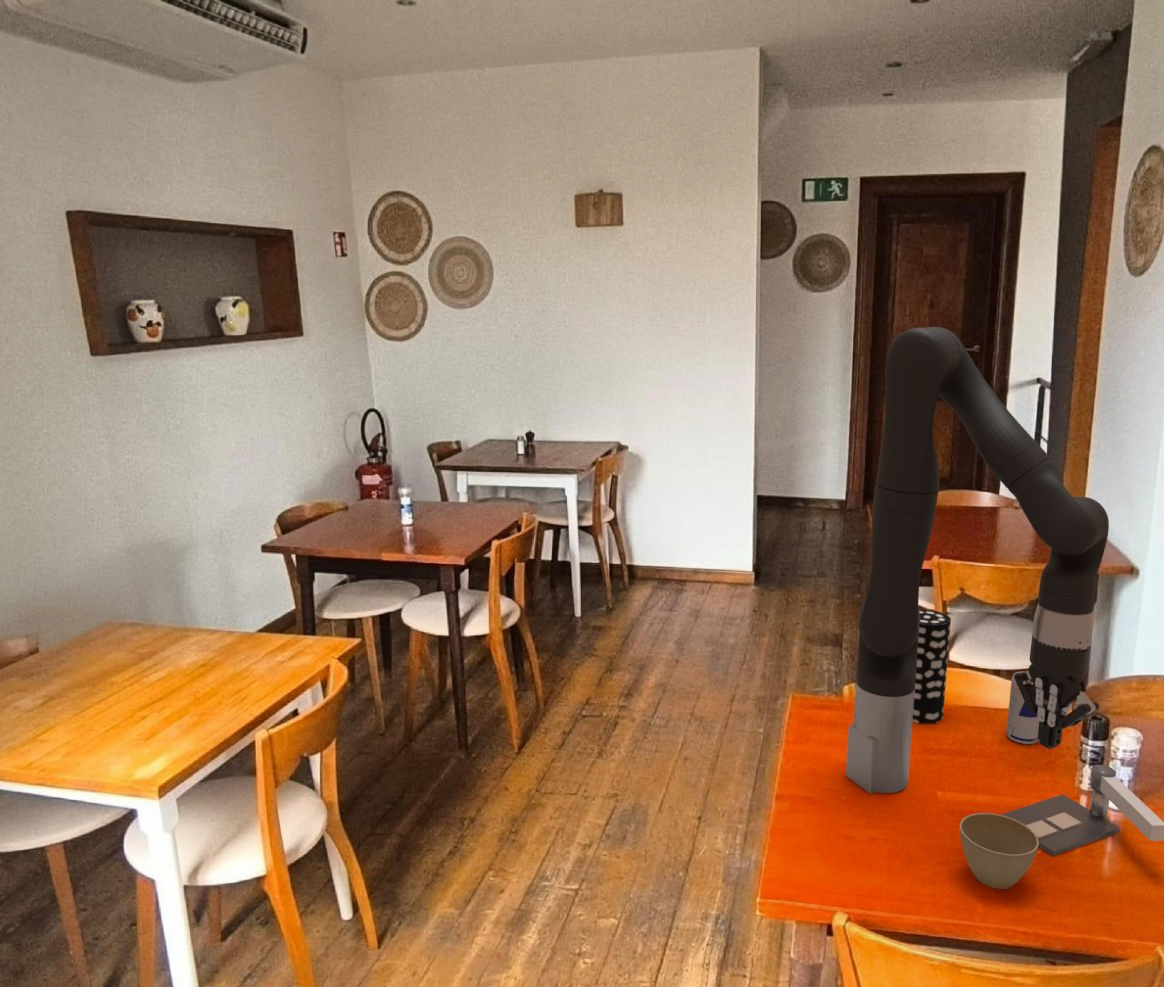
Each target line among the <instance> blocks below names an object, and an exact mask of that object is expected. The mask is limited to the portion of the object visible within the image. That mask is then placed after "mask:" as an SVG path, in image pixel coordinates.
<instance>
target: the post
mask: <svg viewBox="0 0 1164 987" xmlns="http://www.w3.org/2000/svg"><path fill="white" fill-rule="evenodd" d="M1091 789H1092V788H1091ZM1109 804H1110V800H1109V799H1108V798H1107V797H1106V796H1105V795H1104V794H1103V793H1101V792H1098V791H1095V790H1094V789H1092V790H1091V797H1090V806H1089V810H1090V813H1091V814H1093V815H1094V816H1097V817H1103V818H1105V819H1106V820H1108V813H1109Z"/></svg>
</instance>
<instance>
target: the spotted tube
mask: <svg viewBox="0 0 1164 987" xmlns="http://www.w3.org/2000/svg"><path fill="white" fill-rule="evenodd" d="M919 611H920V625H919V636H918V649H917V668H916V681H915V694H914V707H913V722H912V723H914V722H915V724H919V723H935V724H937V723H936V722H938V721H940V720H941V721H942V720H943V719H944V712H945V711H944V709H945V700H946V699H945V697H946V684H947V673H948V671H947V670H948V661H949V649H950V635H951V622H952V618H951V616H949V615H948V614H946V613H944V612H942V611H938V610H932V609H927V608H919ZM942 718H943V719H942ZM941 721H940V722H941ZM938 723H939V722H938Z"/></svg>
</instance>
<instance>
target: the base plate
mask: <svg viewBox="0 0 1164 987" xmlns="http://www.w3.org/2000/svg"><path fill="white" fill-rule="evenodd" d="M1000 815H1003V816H1006V817H1009V818H1012V819H1015V820H1017V821H1019V822H1021V823H1023V824H1024V825H1026V826H1027V827H1029V828H1030V829H1031V830H1032V831H1033V832H1034V833H1035V834H1036V836H1037V838H1038V841H1039V846H1038V848H1039V849H1042V850H1043V851H1044V852H1046V853H1047V854H1049V855H1050V856H1052V857H1055V856H1057V855H1060V854H1063V853H1066V852H1068V851H1072V850H1074V849H1077V848H1079V847H1083V846H1085V845H1088V844H1091V843H1094V842H1096V841H1099V840H1101V839H1104V838H1107V837H1111V836H1113V835H1116V834H1118V833H1120V830H1121V827H1120V826H1119V825H1117V824H1115V823H1114V822H1112V821H1109V820H1108V819H1107V820H1106V819H1105V818H1103V817H1097V816H1094V815H1093V814H1091V813H1090V808H1088V807H1086V806H1083V805H1082V804H1080V803H1079V802H1076V800H1073V799H1072V798H1070V797H1068V796H1067V795H1065V794H1059V795H1056V796H1052V797H1051V798H1047V799H1043V800H1041V801H1037V802H1035V803H1032V804H1029V805H1026V806H1023V807H1020V808H1019V807H1018V808H1016V809H1014V810H1010V811H1007V812H1005V813H1004V812H1003V813H1001V814H1000Z"/></svg>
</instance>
